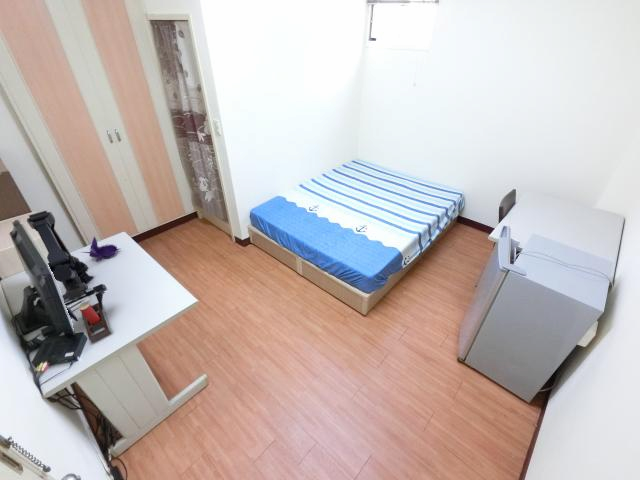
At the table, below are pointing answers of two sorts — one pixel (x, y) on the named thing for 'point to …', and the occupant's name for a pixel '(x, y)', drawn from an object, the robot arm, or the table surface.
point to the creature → (101, 250)
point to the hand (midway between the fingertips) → (90, 315)
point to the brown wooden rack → (97, 325)
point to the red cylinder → (89, 313)
